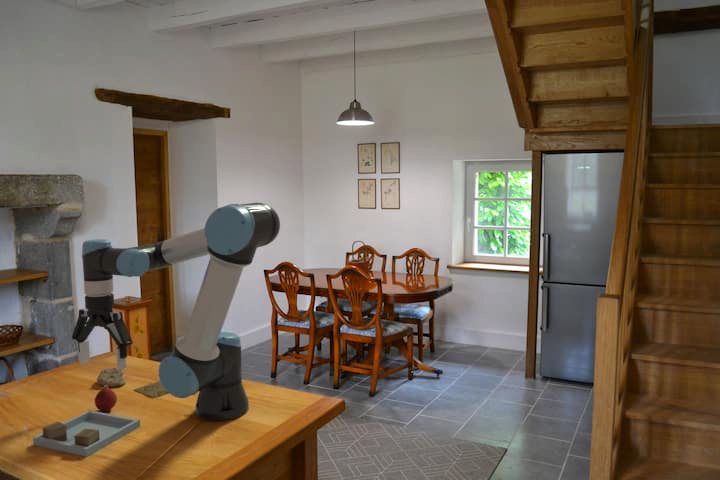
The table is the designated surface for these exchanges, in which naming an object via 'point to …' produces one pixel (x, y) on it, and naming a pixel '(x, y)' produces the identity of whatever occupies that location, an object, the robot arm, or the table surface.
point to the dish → (105, 423)
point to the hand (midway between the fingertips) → (103, 366)
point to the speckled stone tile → (152, 390)
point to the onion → (105, 399)
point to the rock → (111, 377)
